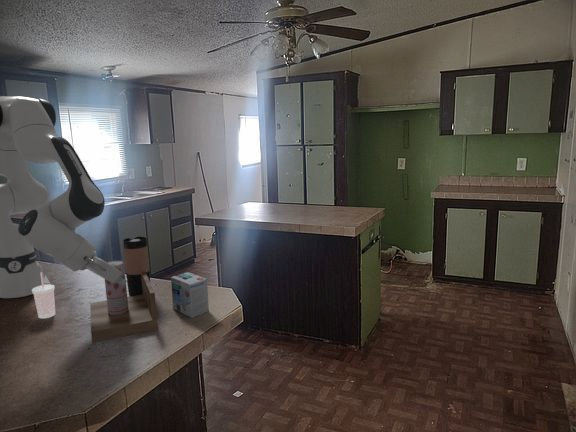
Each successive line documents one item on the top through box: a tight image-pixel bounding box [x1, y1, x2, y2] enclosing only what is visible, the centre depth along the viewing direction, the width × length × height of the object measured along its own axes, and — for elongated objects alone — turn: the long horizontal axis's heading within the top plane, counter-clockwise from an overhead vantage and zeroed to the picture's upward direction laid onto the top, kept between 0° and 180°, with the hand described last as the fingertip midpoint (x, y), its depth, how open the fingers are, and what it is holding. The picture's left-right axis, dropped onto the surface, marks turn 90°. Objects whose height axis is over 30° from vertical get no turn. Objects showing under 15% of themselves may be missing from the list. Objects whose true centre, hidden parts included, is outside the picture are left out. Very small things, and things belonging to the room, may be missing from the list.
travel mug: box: [122, 236, 151, 297], centre depth 144 cm, size 8×8×20 cm
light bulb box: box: [170, 271, 209, 318], centre depth 131 cm, size 11×7×11 cm, turn 47°
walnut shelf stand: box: [89, 271, 159, 343], centre depth 125 cm, size 22×17×11 cm
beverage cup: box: [32, 271, 56, 319], centre depth 129 cm, size 6×6×14 cm
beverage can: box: [104, 260, 128, 315], centre depth 123 cm, size 6×6×15 cm
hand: (117, 279), depth 123 cm, fingers open, 8 cm apart
